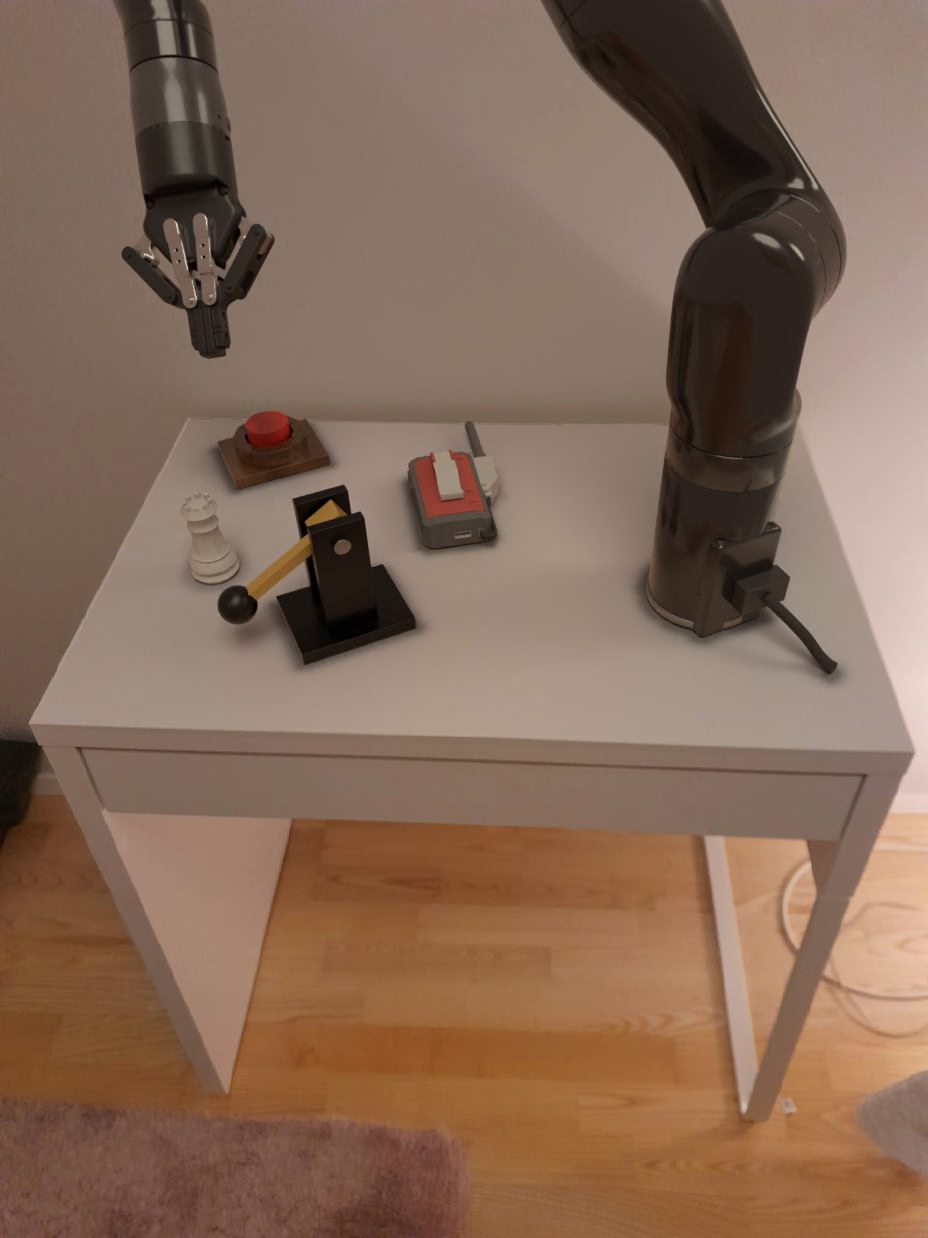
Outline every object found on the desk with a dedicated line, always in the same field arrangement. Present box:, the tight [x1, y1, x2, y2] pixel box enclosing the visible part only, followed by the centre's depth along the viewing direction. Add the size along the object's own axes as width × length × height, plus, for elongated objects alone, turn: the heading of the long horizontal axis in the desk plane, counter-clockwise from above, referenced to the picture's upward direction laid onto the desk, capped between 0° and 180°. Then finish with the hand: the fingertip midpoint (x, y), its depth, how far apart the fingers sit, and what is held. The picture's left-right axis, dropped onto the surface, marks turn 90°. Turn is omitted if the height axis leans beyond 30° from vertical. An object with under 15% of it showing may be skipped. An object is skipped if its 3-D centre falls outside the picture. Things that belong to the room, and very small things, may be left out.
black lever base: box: [275, 484, 417, 666], centre depth 78 cm, size 10×8×12 cm
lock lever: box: [216, 500, 347, 626], centre depth 75 cm, size 13×3×3 cm, turn 115°
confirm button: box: [244, 410, 291, 447], centre depth 98 cm, size 4×4×2 cm
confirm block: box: [216, 415, 331, 490], centre depth 99 cm, size 10×8×3 cm
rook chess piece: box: [179, 491, 240, 585], centre depth 84 cm, size 4×4×8 cm
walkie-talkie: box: [407, 420, 500, 549], centre depth 93 cm, size 9×4×20 cm
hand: (213, 356), depth 77 cm, fingers closed
